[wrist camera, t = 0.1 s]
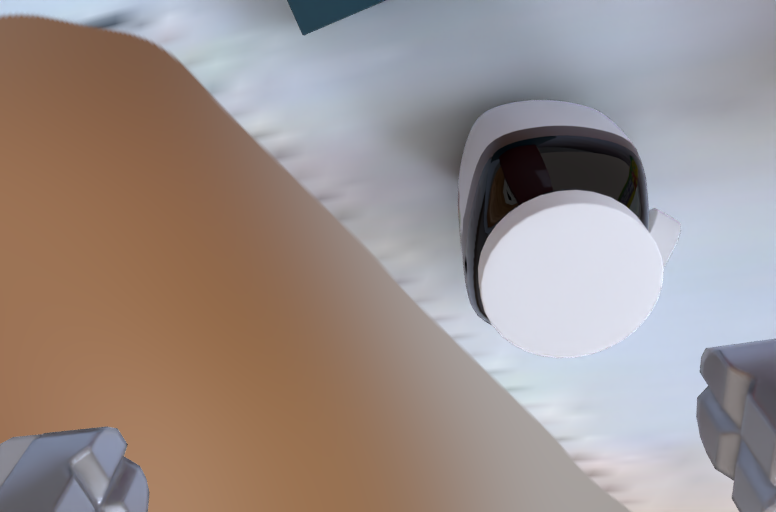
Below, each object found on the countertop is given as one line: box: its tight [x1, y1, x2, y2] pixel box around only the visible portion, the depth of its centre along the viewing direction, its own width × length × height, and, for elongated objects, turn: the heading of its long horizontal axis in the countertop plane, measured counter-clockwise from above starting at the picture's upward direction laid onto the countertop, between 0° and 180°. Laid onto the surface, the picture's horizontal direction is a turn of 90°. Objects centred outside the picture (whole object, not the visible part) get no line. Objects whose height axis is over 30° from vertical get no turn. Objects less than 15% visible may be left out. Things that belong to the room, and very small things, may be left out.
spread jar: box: [458, 100, 681, 358], centre depth 29 cm, size 12×11×12 cm
